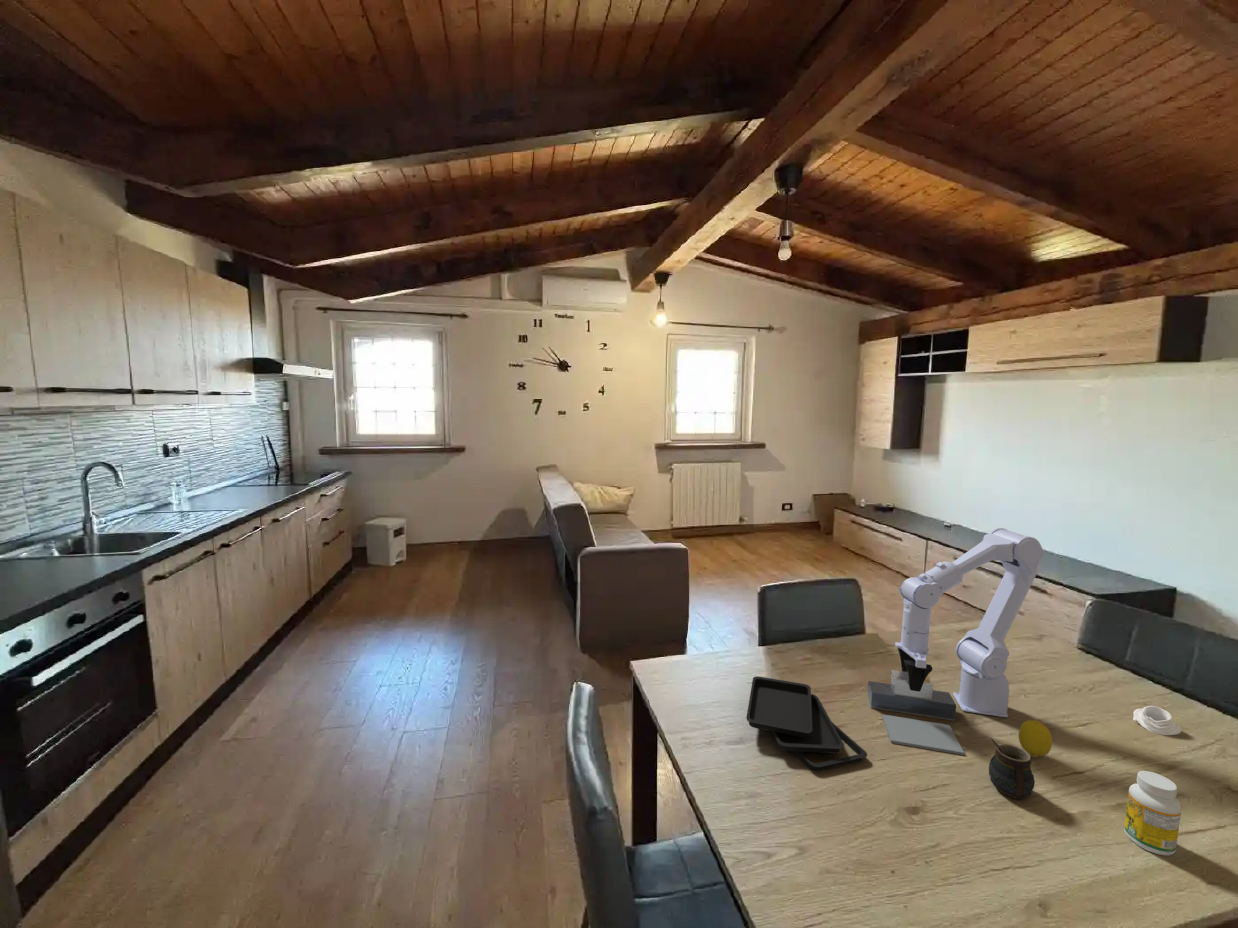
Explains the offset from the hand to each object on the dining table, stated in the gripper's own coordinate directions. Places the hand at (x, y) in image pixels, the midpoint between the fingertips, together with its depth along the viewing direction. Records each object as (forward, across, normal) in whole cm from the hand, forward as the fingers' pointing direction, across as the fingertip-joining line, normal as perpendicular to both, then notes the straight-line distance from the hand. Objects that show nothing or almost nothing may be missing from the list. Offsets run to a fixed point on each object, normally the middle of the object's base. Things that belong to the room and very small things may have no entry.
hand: (911, 682), depth 129 cm
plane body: (+7, 0, 0) cm, 7 cm away
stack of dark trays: (+7, +18, -28) cm, 34 cm away
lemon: (+7, +12, +21) cm, 25 cm away
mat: (+7, +11, 0) cm, 13 cm away
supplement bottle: (+7, +32, +30) cm, 44 cm away
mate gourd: (+7, +25, +12) cm, 29 cm away
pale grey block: (+3, 0, 0) cm, 3 cm away
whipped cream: (+7, -8, +53) cm, 54 cm away
